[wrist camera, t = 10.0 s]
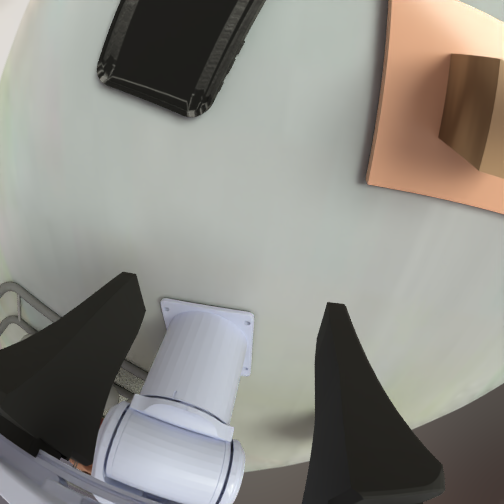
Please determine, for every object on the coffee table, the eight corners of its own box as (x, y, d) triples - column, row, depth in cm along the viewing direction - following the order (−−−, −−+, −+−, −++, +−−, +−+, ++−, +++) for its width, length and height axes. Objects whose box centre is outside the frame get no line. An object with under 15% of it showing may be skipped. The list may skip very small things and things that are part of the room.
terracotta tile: (514, 213, 16) (519, 218, 15) (365, 179, 17) (367, 184, 16) (550, 55, 9) (557, 57, 8) (388, -19, 10) (392, -22, 9)
